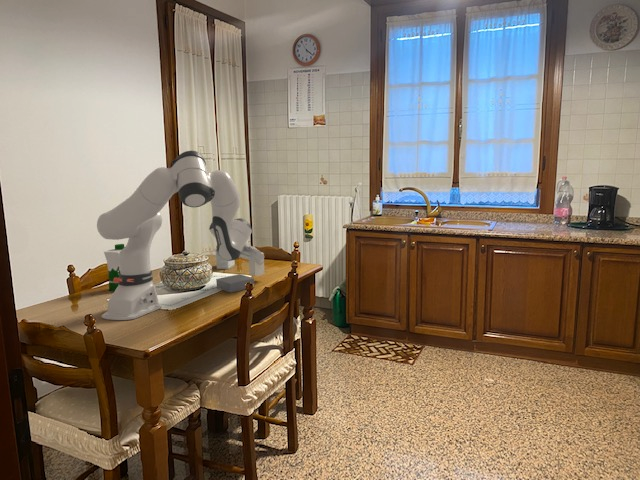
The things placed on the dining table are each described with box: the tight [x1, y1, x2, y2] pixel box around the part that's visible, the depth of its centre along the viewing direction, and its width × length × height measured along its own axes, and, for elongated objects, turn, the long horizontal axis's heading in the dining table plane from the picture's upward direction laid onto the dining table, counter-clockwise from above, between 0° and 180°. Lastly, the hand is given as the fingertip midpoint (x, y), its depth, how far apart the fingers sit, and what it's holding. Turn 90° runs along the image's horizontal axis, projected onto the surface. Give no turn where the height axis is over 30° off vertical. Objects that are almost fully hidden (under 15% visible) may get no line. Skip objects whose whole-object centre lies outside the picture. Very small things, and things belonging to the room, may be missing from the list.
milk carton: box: [103, 243, 125, 292], centre depth 224 cm, size 9×9×20 cm
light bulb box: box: [215, 248, 236, 270], centre depth 263 cm, size 11×7×11 cm, turn 172°
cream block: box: [248, 251, 266, 277], centre depth 229 cm, size 5×5×10 cm
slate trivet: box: [215, 273, 256, 294], centre depth 220 cm, size 12×12×4 cm
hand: (257, 262), depth 230 cm, fingers closed on cream block, 5 cm apart
